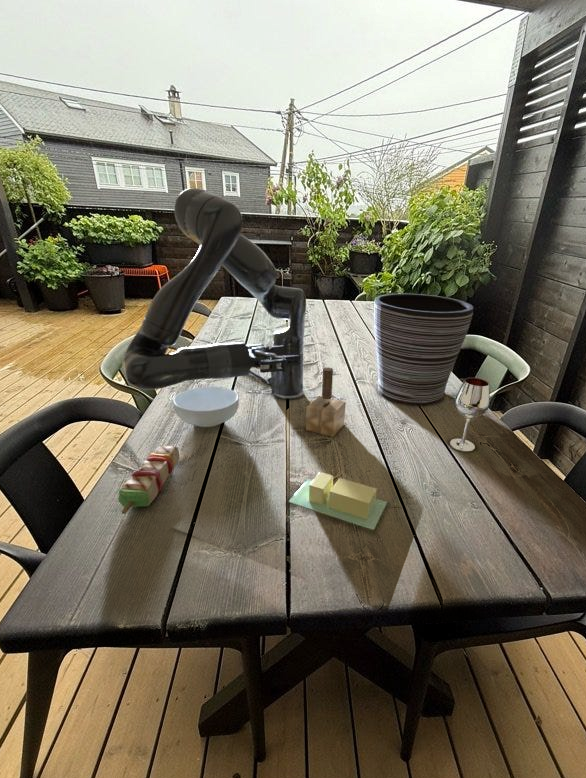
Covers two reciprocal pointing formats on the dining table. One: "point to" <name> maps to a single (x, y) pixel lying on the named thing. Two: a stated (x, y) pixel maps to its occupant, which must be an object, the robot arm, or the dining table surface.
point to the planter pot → (418, 345)
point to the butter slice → (320, 488)
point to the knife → (327, 385)
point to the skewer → (149, 478)
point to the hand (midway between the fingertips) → (291, 354)
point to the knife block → (325, 416)
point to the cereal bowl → (206, 405)
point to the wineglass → (471, 407)
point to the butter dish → (324, 508)
